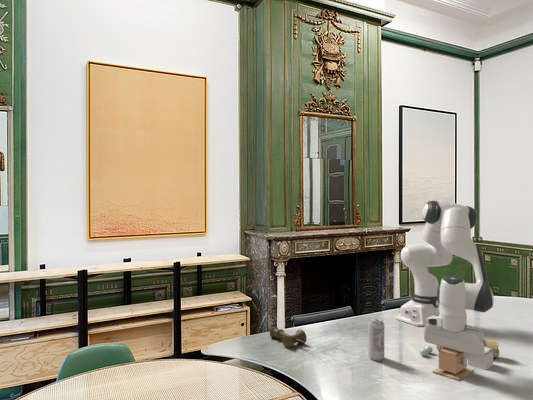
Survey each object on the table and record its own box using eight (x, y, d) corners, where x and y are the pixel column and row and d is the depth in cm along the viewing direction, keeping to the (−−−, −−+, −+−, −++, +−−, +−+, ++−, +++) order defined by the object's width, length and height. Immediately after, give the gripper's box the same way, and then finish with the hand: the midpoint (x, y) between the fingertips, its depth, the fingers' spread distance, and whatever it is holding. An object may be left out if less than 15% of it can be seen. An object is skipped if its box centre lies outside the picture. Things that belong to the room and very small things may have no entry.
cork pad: (432, 372, 140) (432, 371, 140) (447, 363, 148) (447, 361, 148) (458, 381, 133) (458, 379, 133) (473, 371, 141) (473, 369, 141)
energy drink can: (380, 354, 156) (379, 316, 156) (387, 360, 150) (387, 321, 150) (365, 355, 155) (365, 317, 155) (372, 361, 149) (372, 322, 149)
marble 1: (418, 355, 155) (418, 348, 155) (422, 353, 157) (421, 346, 157) (425, 357, 153) (425, 350, 153) (429, 355, 155) (429, 348, 155)
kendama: (281, 335, 180) (313, 346, 165) (265, 341, 174) (297, 353, 159) (280, 322, 180) (312, 332, 165) (264, 327, 174) (296, 338, 159)
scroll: (500, 350, 156) (446, 340, 168) (499, 336, 154) (444, 326, 166) (498, 364, 151) (442, 353, 163) (497, 349, 148) (440, 338, 160)
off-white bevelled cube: (467, 364, 147) (467, 348, 147) (474, 359, 151) (474, 343, 151) (486, 369, 142) (486, 353, 142) (493, 364, 147) (493, 348, 147)
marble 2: (423, 353, 158) (422, 345, 158) (426, 351, 160) (426, 343, 160) (430, 355, 156) (430, 347, 156) (433, 353, 158) (433, 345, 158)
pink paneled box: (438, 368, 140) (438, 350, 140) (450, 361, 146) (450, 344, 146) (456, 374, 135) (456, 355, 135) (466, 366, 141) (466, 348, 141)
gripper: (487, 327, 135) (487, 367, 135) (429, 314, 150) (429, 350, 150) (480, 331, 131) (480, 373, 131) (421, 317, 146) (421, 355, 146)
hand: (453, 361), depth 141 cm, fingers closed on pink paneled box, 6 cm apart
